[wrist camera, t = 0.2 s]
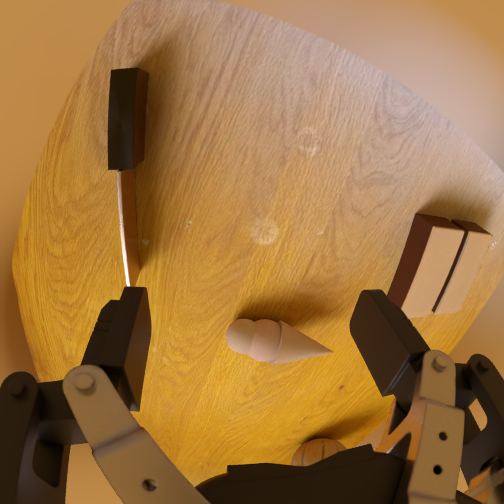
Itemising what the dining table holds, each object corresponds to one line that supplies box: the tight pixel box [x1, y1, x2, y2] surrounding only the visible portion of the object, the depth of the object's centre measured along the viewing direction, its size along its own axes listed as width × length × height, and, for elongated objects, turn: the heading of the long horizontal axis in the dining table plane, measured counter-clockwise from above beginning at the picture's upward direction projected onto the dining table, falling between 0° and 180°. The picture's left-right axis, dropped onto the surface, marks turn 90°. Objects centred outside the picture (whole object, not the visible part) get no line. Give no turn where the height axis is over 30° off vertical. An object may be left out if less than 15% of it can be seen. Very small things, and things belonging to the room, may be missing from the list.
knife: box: [108, 68, 149, 287], centre depth 26 cm, size 22×2×5 cm, turn 174°
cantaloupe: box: [291, 438, 347, 466], centre depth 56 cm, size 15×15×15 cm
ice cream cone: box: [226, 319, 333, 365], centre depth 37 cm, size 6×6×15 cm
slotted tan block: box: [387, 214, 493, 318], centre depth 36 cm, size 14×14×4 cm
